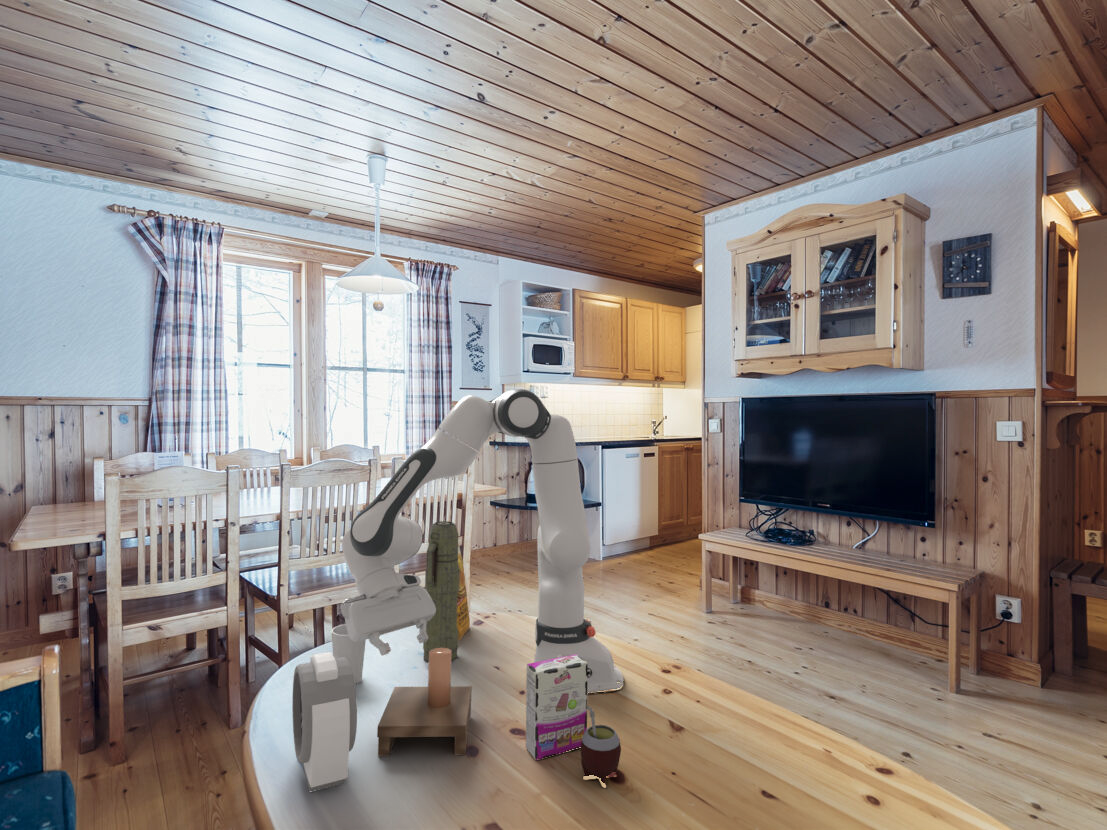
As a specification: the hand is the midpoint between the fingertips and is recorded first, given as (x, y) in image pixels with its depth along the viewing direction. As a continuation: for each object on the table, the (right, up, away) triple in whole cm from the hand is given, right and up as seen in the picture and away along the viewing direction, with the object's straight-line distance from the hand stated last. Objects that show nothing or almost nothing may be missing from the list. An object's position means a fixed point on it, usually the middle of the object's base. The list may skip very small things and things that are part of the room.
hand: (405, 647), depth 127 cm
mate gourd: (+39, -15, -21) cm, 47 cm away
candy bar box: (+32, -15, -12) cm, 37 cm away
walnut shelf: (+6, -14, -9) cm, 18 cm away
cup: (-17, -14, +15) cm, 27 cm away
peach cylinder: (+8, -8, -7) cm, 14 cm away
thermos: (+2, -14, +29) cm, 33 cm away
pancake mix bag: (+3, -14, +46) cm, 49 cm away
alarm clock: (-10, -14, -21) cm, 27 cm away
